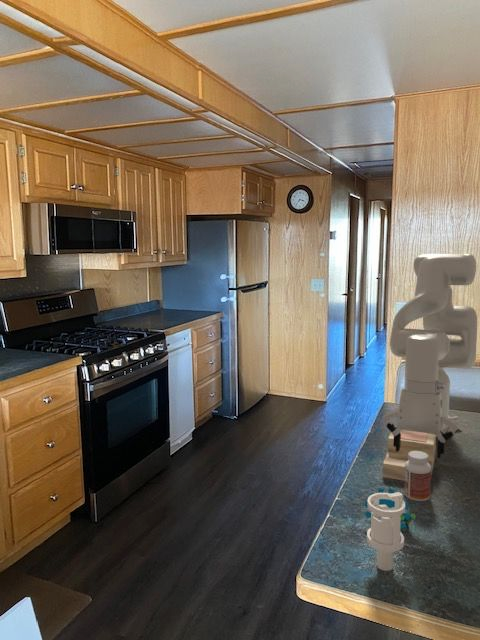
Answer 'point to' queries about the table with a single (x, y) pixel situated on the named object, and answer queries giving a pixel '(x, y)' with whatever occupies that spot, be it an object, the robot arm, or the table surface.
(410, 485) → the pill bottle
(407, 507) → the gear
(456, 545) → the table surface
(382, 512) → the white flanged pipe fitting
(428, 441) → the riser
